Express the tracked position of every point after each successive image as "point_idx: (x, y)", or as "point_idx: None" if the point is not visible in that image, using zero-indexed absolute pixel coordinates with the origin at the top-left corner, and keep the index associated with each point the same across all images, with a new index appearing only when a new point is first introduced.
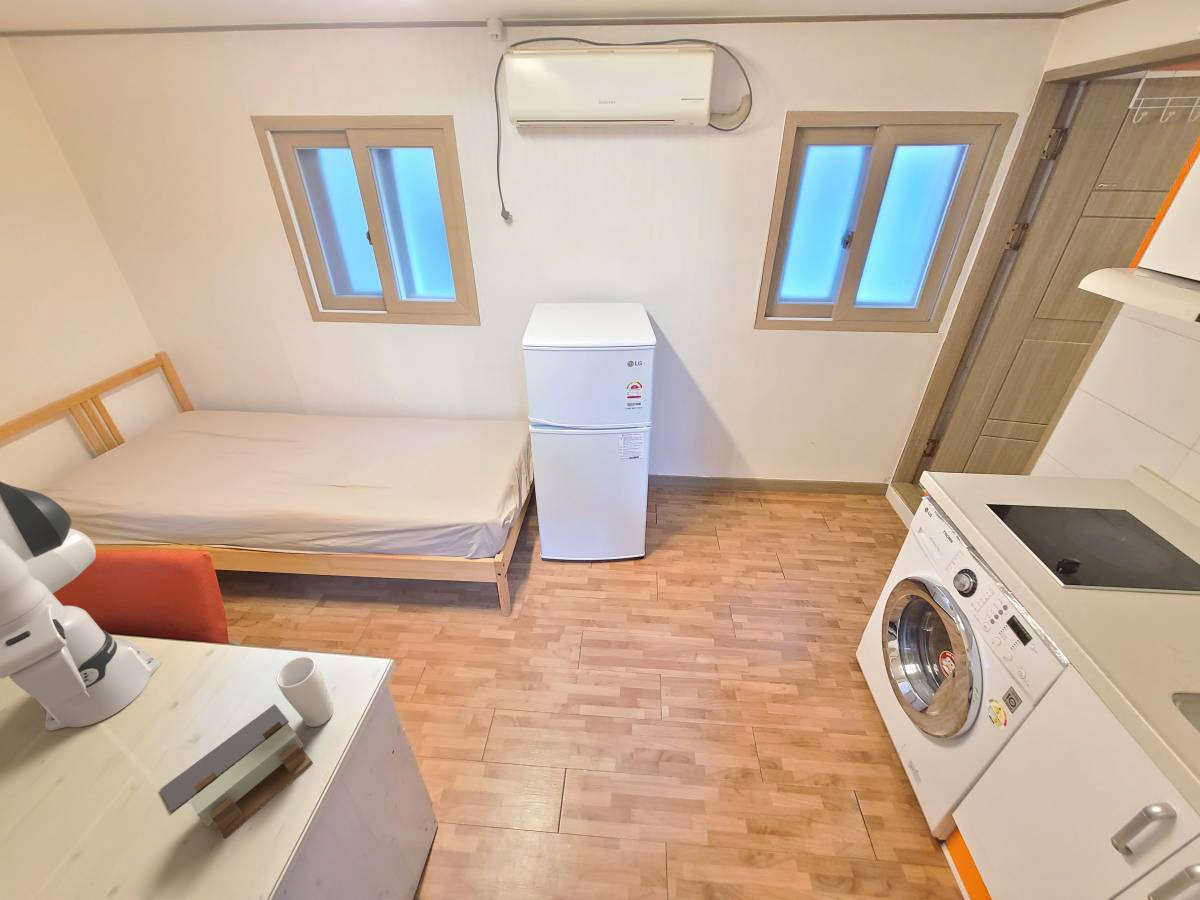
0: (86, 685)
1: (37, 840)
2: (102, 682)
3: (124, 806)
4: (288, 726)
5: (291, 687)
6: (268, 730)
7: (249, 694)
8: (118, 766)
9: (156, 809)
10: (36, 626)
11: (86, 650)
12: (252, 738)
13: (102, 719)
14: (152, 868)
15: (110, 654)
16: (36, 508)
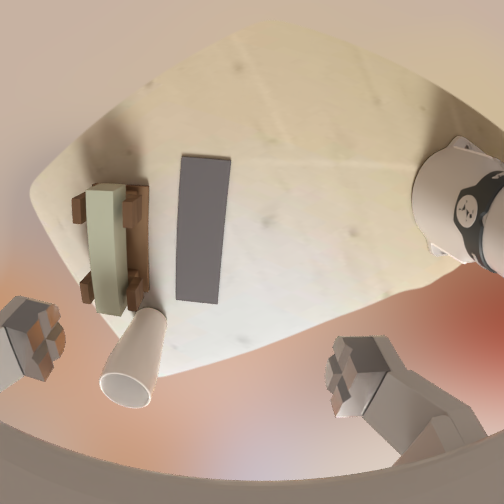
0: (459, 201)
1: (309, 52)
2: (449, 212)
3: (253, 124)
4: (115, 314)
5: (101, 375)
6: (133, 298)
7: (268, 293)
8: (327, 146)
9: (206, 146)
10: None
11: (493, 249)
12: (191, 264)
13: (419, 173)
14: (133, 117)
15: (470, 252)
16: None
